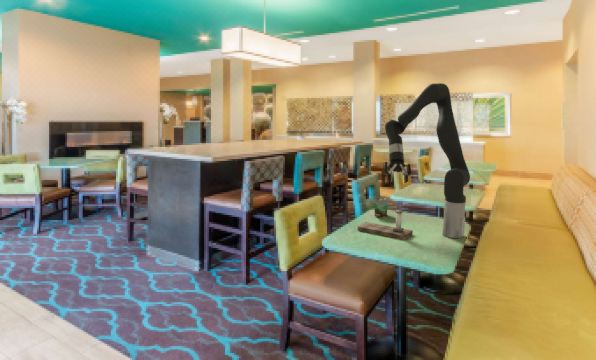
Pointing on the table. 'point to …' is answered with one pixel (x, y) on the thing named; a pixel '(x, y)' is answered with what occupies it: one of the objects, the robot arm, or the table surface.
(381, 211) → the potted plant
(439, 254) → the table surface
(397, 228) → the fader
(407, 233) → the brown wooden board
